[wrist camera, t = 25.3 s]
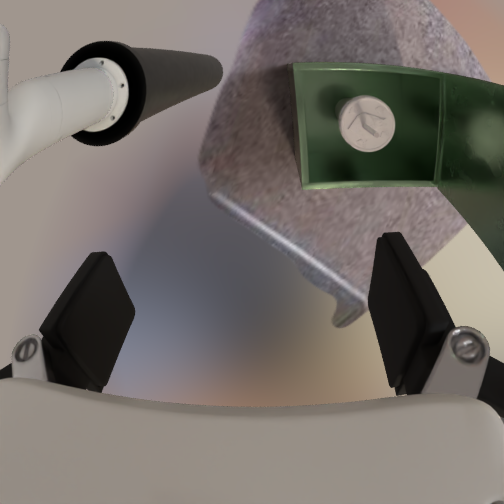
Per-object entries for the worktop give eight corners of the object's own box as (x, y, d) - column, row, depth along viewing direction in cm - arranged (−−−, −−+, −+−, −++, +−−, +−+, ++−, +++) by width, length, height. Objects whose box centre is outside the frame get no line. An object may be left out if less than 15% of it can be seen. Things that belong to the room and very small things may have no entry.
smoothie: (319, 93, 35) (342, 107, 24) (364, 84, 34) (406, 97, 22) (331, 137, 39) (356, 171, 27) (374, 128, 37) (415, 159, 26)
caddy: (294, 157, 42) (302, 190, 32) (286, 64, 34) (292, 62, 24) (403, 155, 40) (438, 187, 30) (404, 67, 32) (445, 73, 22)
